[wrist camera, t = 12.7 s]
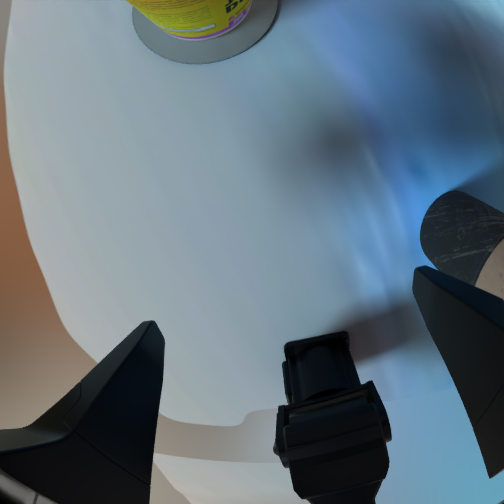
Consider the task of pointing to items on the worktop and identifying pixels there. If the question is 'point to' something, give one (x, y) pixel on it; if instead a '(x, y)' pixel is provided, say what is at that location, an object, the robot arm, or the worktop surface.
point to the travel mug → (466, 240)
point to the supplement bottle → (194, 16)
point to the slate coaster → (211, 48)
